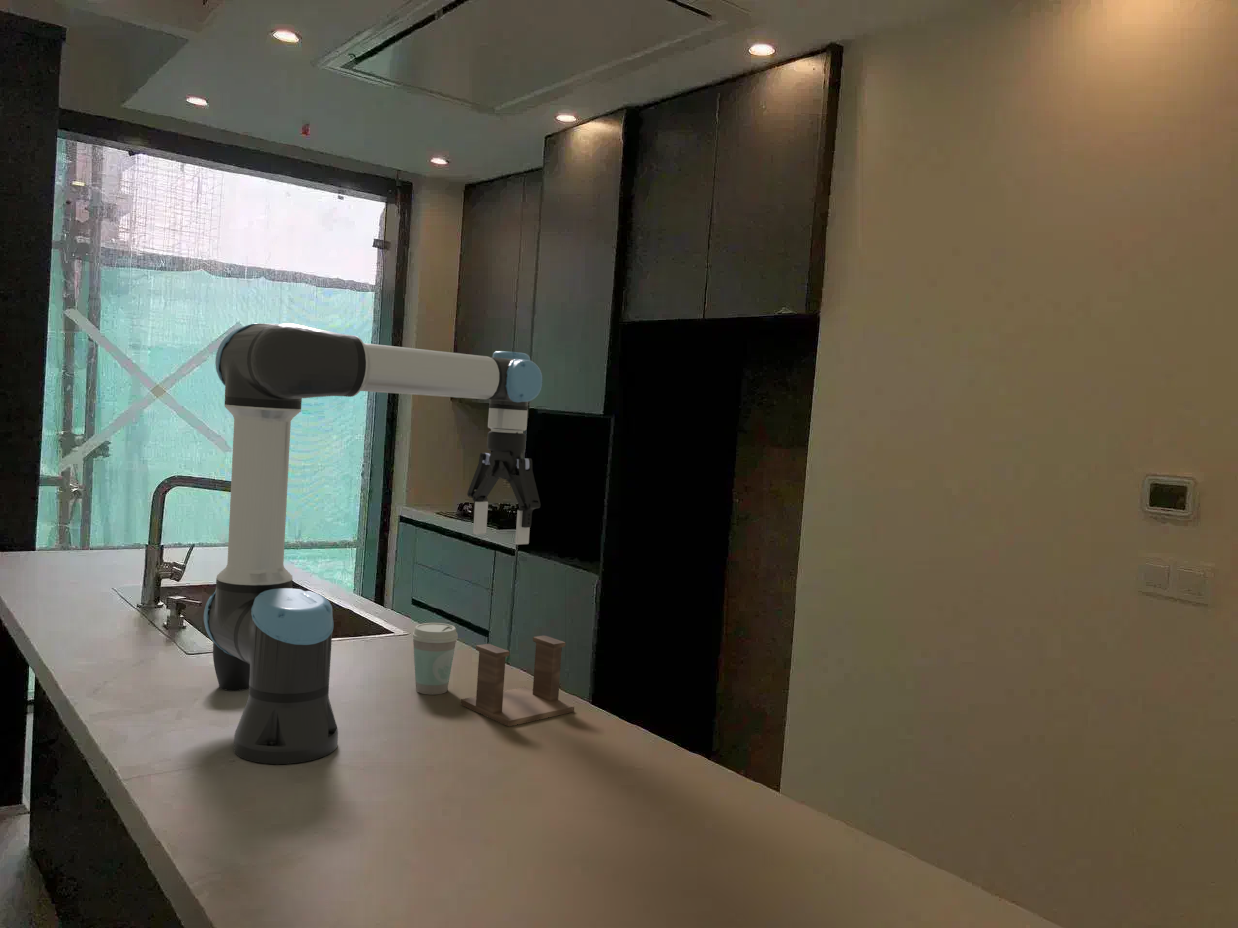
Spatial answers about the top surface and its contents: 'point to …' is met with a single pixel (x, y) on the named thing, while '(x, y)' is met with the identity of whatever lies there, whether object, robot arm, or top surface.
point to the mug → (230, 671)
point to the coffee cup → (433, 656)
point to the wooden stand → (519, 701)
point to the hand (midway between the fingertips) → (500, 538)
